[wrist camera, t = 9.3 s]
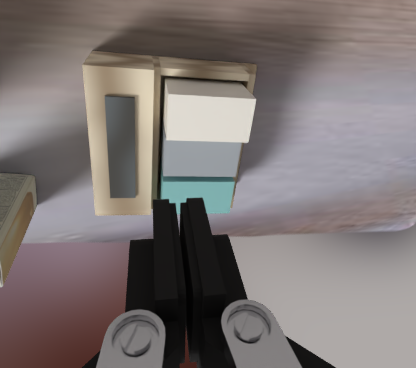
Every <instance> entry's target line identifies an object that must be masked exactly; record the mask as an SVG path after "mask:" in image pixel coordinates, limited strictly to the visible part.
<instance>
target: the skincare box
mask: <svg viewBox="0 0 416 368" xmlns="http://www.w3.org/2000/svg"><path fill="white" fill-rule="evenodd" d="M36 207H37V197H36V183H35V177H34V176H33V175H24V174H9V173H0V287H3V285H4V283H5V280H6V278H7V275H8V273H9V270H10V268H11V266H12V264H13V261H14V259H15V256H16V254H17V252H18V249H19V247H20V245H21V242H22V240H23V238H24V235H25V233H26V230H27V228H28V226H29V223H30V221H31V219H32V216H33V214H34V212H35V209H36Z"/></svg>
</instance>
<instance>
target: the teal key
mask: <svg viewBox="0 0 416 368" xmlns="http://www.w3.org/2000/svg"><path fill="white" fill-rule="evenodd" d="M234 184H235V181H234V179H233V177H196V176H163V170H162V161H161V157H160V182H159V190H160V199H169V203H176V210H177V214H180V203H183V202H186V199H187V198H201V197H202V198H203V200H204V204H205V208H206V212H207V214H210V213H229V212H230V206H231V201H232V195H233V189H234Z"/></svg>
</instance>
